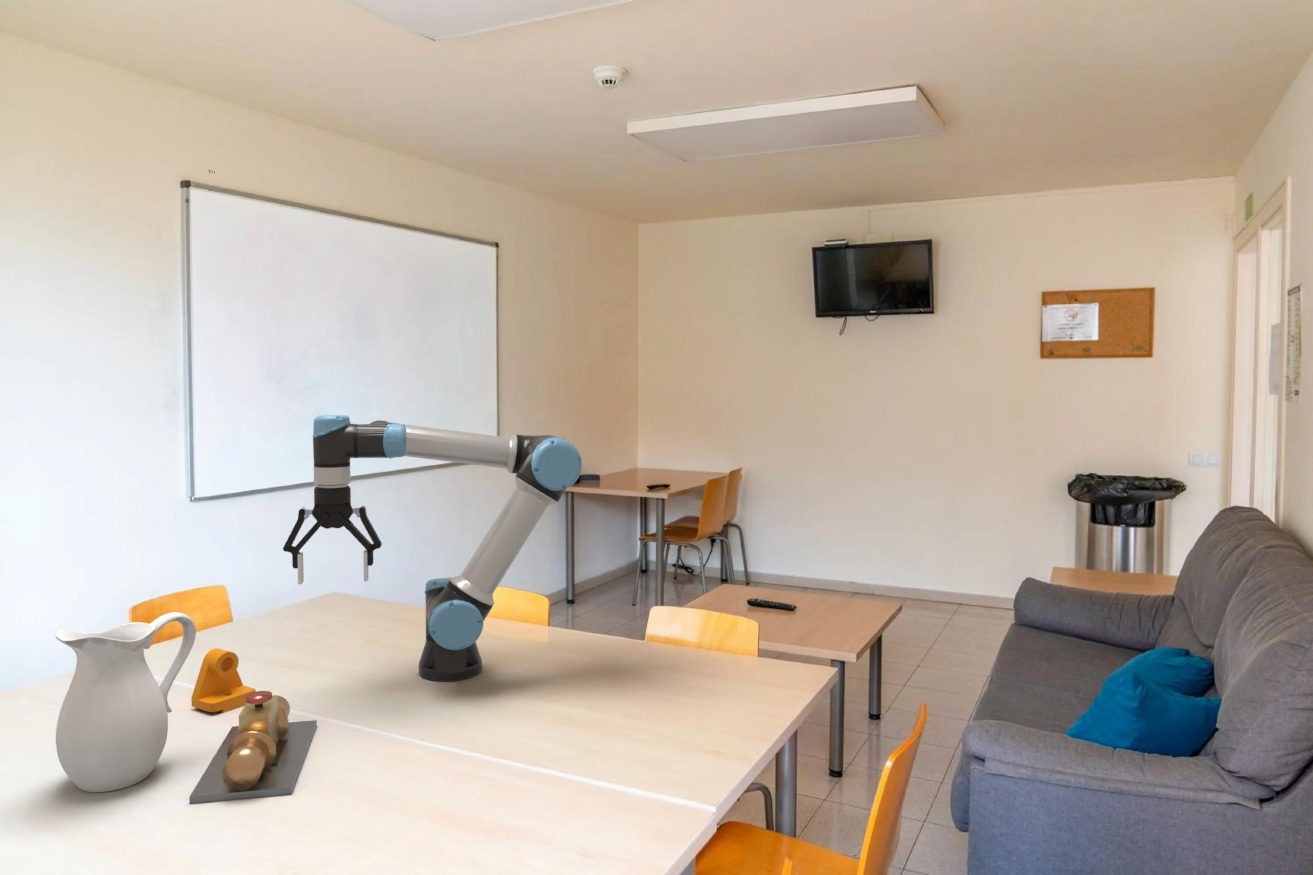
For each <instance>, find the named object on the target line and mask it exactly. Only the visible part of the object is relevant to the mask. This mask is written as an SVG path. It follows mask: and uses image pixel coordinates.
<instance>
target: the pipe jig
mask: <svg viewBox="0 0 1313 875" xmlns="http://www.w3.org/2000/svg"><path fill="white" fill-rule="evenodd" d="M274 696H278V736H279V742H278V744H277V747H276V745H275V742H274V740H273V739H272V738H271V737H270V736H269V735H268V734H266V733H265V732H262V731H258V730H250V731H246V732H243V733H241V734H239V725H237V726H235V725H234V726H231V728H230V730H229V731H228V733H227V735H226V736H225V738H224V739H223V741H222V743H221V744H220V746H219V747H218V749H217V751H216V753H215V754H214V755H213V757H212V759H211V761H210V762H209V764H208V765H207V767H206V769H205V770H204V771H203V773H202V775H201V777H200V778H199V780H198V781H197V783H196V785H195V787H194V788H193V790H192V792H191V793H190V794H189V798H188V799H189V804H200V803H201V804H202V803H211V802H223V801H233V800H242V799H243V800H244V799H253V798H256V799H257V798H265V797H267V798H268V797H276V796H277V797H278V796H287V795H292V794H293V791H294V789H295V786H296V783H297V780H298V778H299V775H300V772H301V770H302V767H303V764H304V761H305V759H306V756H307V754H308V751H309V748H310V745H311V742H312V740H313V737H314V734H315V732H316V729H317V726H318V724H317V722H318V721H317V720H316V719H315V720H314V719H313V720H305V721H303V720H301V721H290V722H289V718H288V717H289V715H290V712H291V707H290V703H289V700H287V699H286V698H285V697H283V696H281V695H276V694H275V695H273V694H272V697H274Z"/></svg>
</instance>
